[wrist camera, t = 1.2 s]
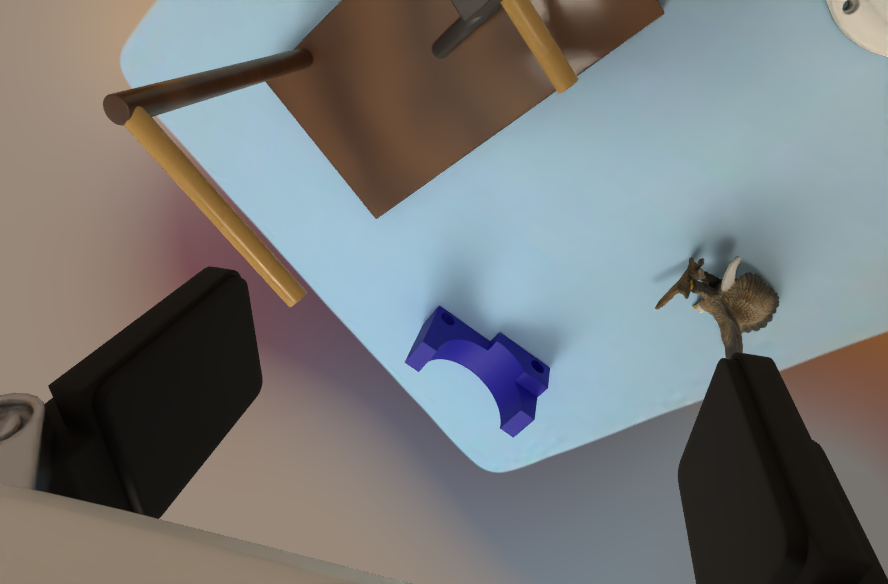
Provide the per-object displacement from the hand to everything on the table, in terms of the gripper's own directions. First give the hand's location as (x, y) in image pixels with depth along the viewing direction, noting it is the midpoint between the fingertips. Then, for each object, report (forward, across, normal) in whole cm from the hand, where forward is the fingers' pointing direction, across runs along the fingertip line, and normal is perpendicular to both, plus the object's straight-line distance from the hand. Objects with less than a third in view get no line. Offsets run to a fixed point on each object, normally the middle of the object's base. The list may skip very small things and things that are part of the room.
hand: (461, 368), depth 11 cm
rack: (+34, +8, -2) cm, 35 cm away
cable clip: (+34, +3, +24) cm, 42 cm away
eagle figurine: (+34, -16, +15) cm, 40 cm away
